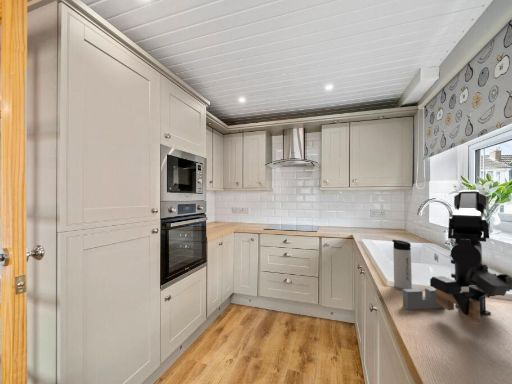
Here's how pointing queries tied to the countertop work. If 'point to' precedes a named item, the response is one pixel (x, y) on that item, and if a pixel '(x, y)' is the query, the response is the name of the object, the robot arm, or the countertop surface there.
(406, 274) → the travel mug
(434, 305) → the base plate
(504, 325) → the countertop surface
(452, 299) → the cross plate
